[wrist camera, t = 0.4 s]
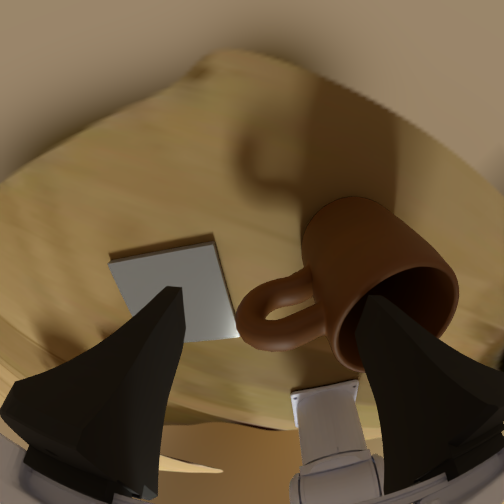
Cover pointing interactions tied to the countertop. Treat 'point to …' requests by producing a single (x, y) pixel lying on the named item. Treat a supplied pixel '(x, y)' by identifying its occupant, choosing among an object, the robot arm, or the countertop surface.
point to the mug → (351, 282)
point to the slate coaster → (181, 275)
